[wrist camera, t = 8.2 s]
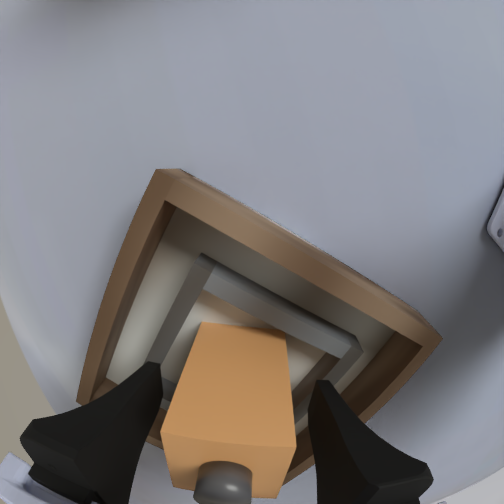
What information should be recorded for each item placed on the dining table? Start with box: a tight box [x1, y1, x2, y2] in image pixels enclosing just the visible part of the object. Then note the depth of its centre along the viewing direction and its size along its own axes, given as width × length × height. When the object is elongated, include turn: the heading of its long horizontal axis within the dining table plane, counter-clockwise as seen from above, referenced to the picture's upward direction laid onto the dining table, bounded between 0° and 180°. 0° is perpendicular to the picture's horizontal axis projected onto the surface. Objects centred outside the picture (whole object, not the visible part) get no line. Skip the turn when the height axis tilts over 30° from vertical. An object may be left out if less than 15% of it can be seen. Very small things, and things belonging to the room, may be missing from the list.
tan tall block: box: [160, 322, 296, 504], centre depth 10 cm, size 4×4×8 cm
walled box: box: [76, 169, 443, 486], centre depth 13 cm, size 14×14×3 cm
